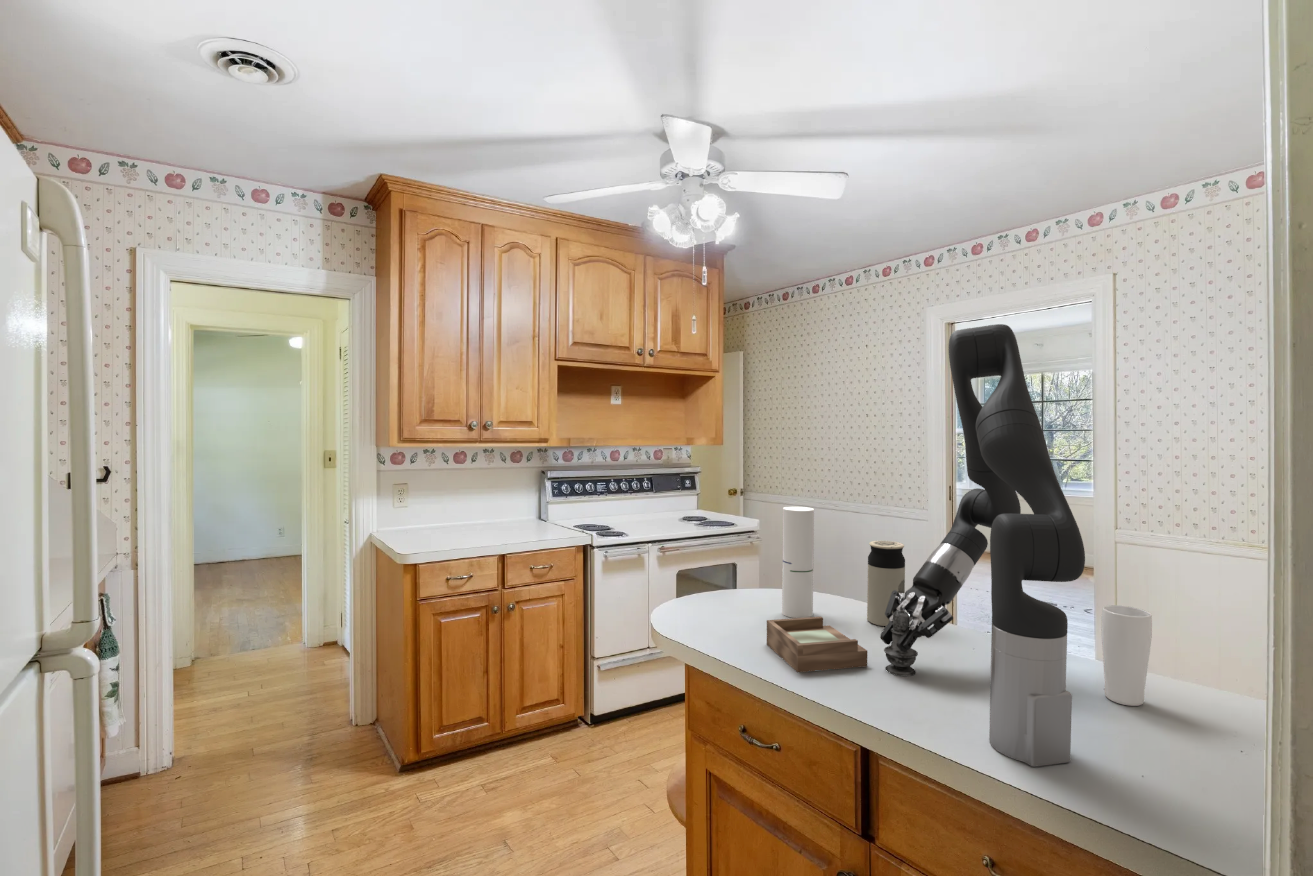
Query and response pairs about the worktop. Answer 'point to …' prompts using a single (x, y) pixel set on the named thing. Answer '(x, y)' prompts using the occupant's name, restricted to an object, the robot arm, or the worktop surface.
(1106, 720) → the worktop surface
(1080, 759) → the worktop surface
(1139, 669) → the drinking glass
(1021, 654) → the robot arm
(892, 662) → the salt shaker
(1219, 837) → the worktop surface
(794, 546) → the cylindrical container
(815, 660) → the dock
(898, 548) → the travel mug
